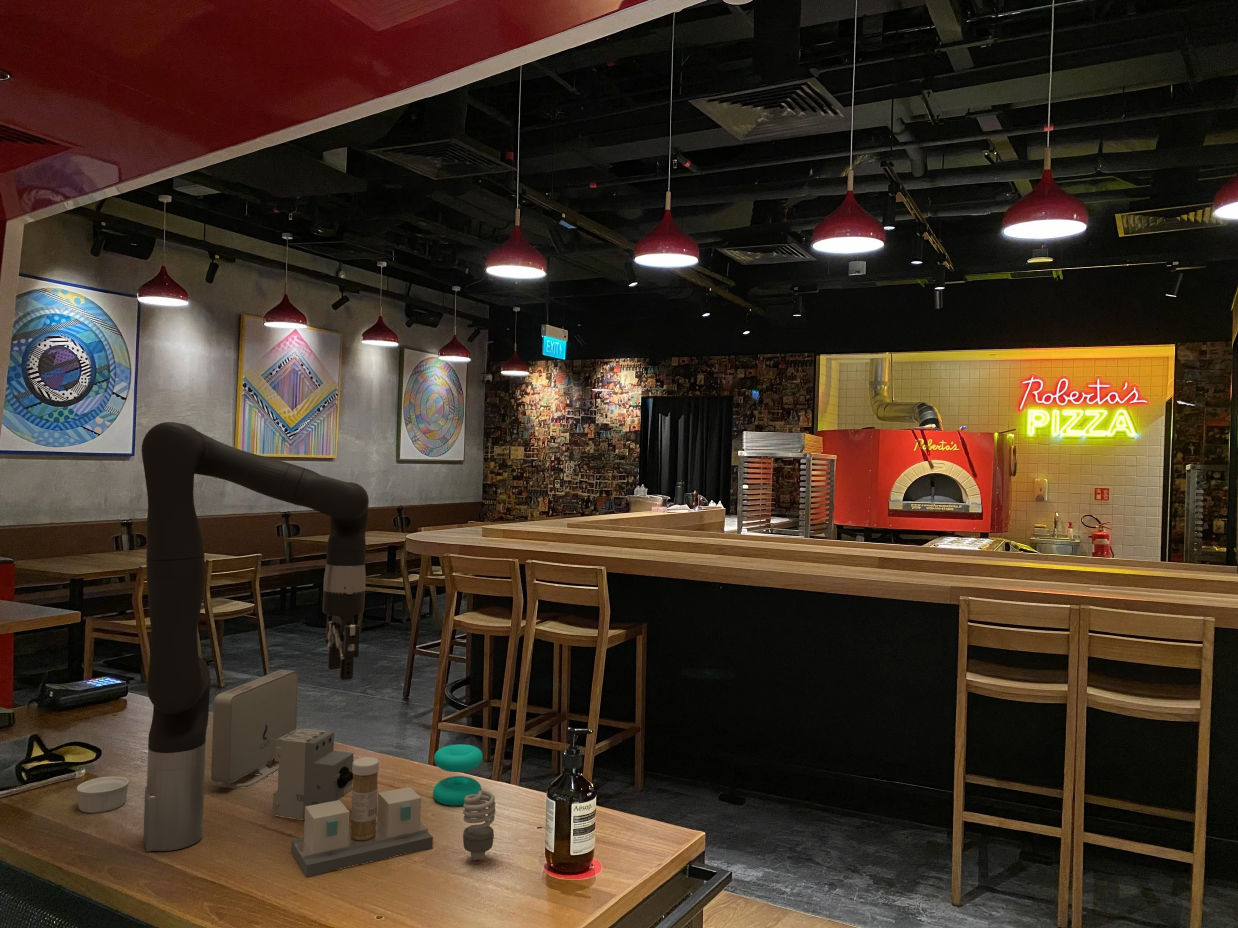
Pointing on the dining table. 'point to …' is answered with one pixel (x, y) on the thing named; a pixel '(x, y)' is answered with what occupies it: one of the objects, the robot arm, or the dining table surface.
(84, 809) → the ramekin
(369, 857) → the mounting board
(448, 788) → the donuts
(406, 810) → the mounted modules
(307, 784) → the circuit breaker
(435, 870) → the dining table surface
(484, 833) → the light bulb
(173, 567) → the robot arm
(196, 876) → the dining table surface
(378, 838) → the din rail
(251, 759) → the network device
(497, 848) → the dining table surface
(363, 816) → the sprinkles bottle
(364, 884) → the dining table surface
